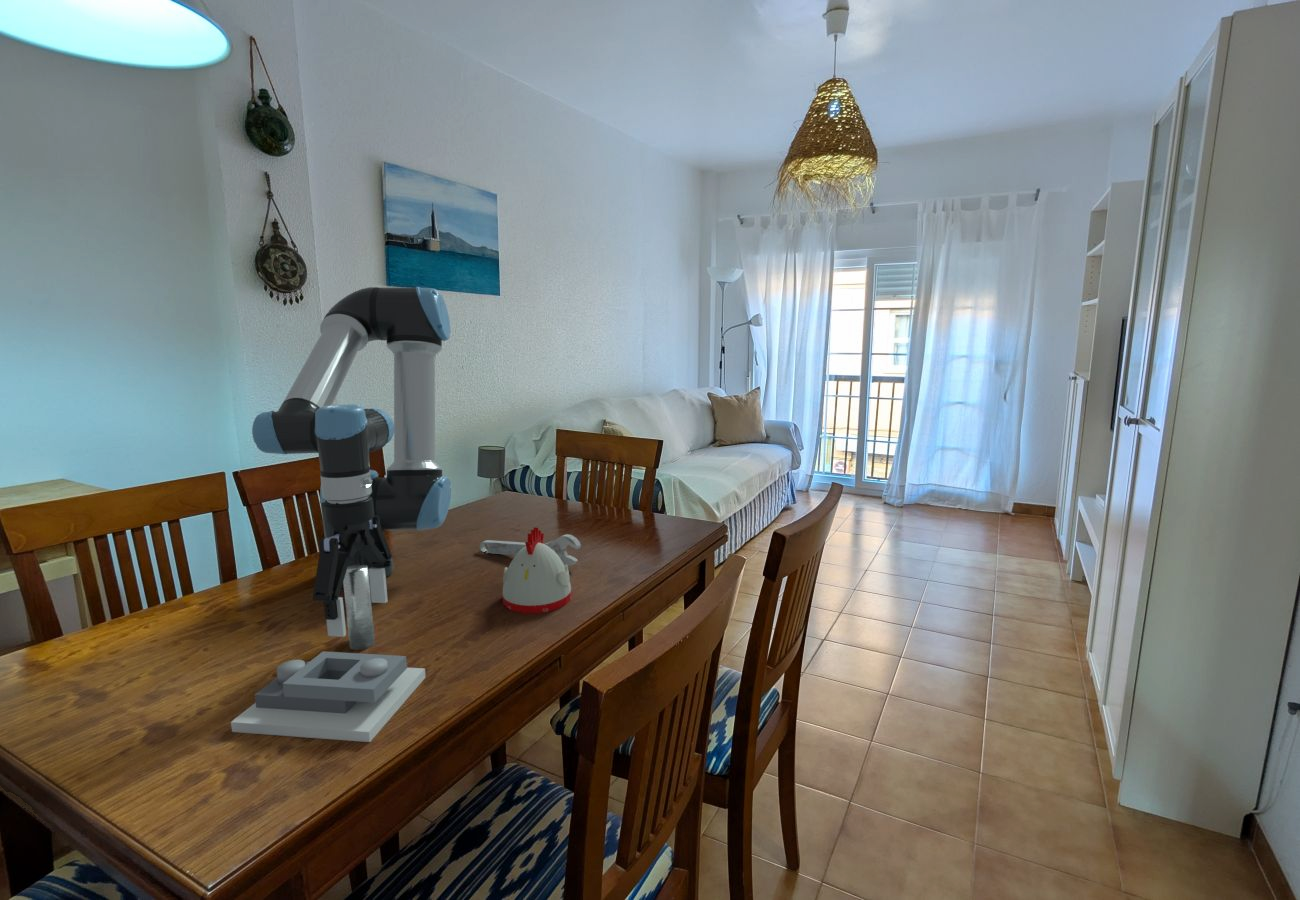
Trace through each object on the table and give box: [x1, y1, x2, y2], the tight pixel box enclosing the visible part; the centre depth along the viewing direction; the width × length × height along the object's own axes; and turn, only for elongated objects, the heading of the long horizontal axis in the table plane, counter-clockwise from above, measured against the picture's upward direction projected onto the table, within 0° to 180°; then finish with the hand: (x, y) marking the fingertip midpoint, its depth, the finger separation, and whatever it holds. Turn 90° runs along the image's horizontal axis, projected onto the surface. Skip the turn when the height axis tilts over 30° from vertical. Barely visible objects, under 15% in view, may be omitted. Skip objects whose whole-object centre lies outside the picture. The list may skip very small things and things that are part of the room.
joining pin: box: [343, 564, 376, 651], centre depth 108 cm, size 4×4×14 cm
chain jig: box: [230, 650, 426, 743], centre depth 92 cm, size 20×16×6 cm
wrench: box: [478, 533, 582, 567], centre depth 149 cm, size 8×2×30 cm
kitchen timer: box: [502, 526, 572, 614], centre depth 127 cm, size 14×14×15 cm
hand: (359, 617), depth 108 cm, fingers open, 12 cm apart
